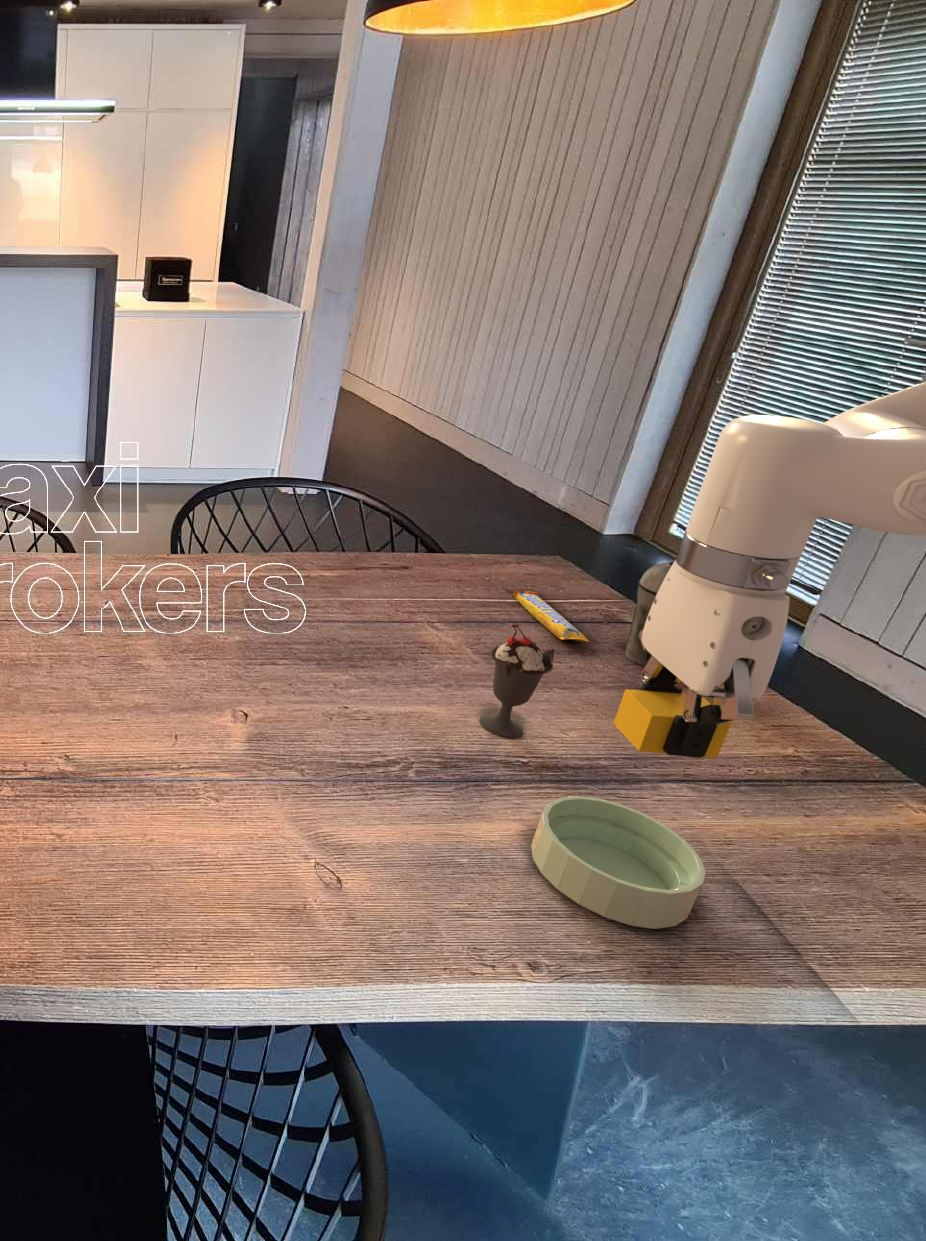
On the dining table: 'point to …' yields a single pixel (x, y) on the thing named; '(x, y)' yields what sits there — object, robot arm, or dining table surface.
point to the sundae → (515, 681)
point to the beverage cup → (644, 608)
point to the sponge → (657, 720)
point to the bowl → (617, 862)
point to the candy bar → (548, 616)
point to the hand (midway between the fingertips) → (666, 735)
